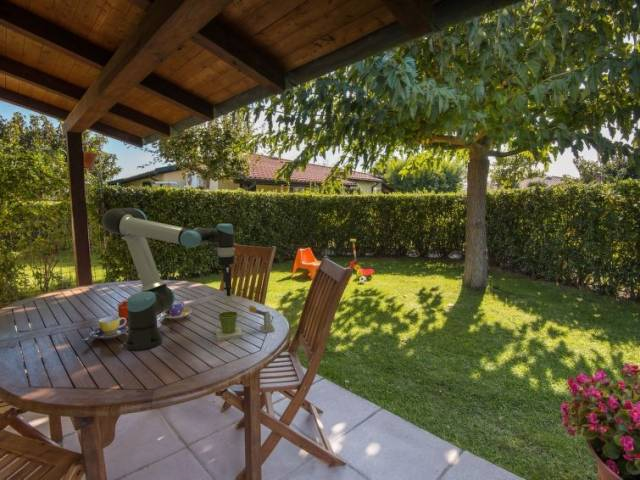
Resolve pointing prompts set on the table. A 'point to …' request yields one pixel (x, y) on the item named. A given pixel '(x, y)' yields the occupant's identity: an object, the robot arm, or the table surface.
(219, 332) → the plate
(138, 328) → the robot arm
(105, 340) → the table surface
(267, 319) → the lever stand
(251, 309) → the press lever
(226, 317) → the plant pot
